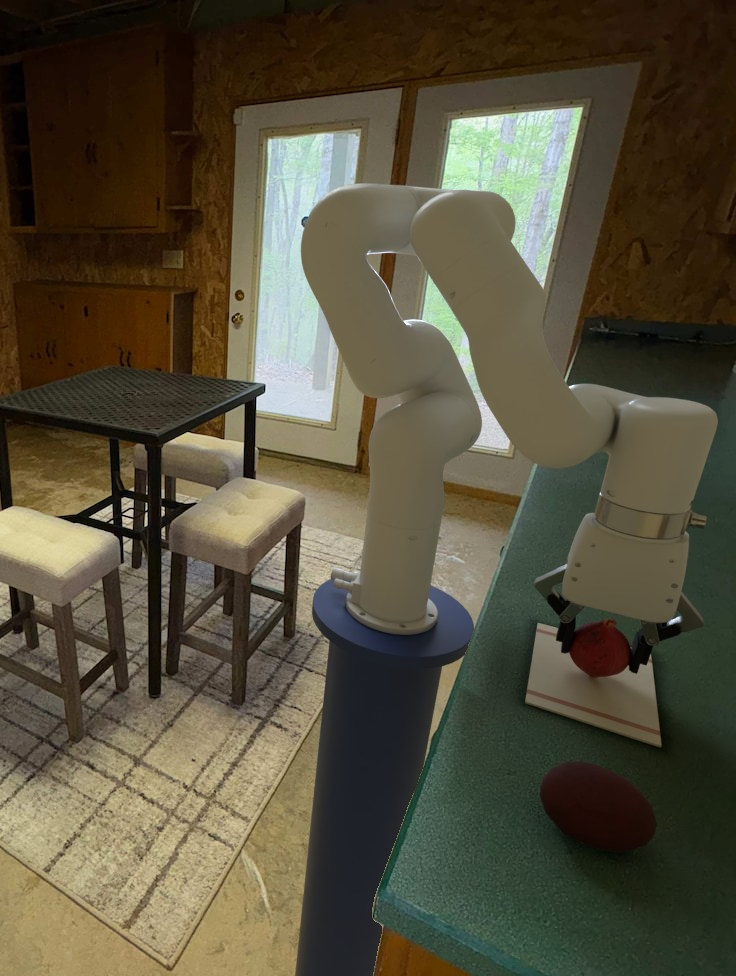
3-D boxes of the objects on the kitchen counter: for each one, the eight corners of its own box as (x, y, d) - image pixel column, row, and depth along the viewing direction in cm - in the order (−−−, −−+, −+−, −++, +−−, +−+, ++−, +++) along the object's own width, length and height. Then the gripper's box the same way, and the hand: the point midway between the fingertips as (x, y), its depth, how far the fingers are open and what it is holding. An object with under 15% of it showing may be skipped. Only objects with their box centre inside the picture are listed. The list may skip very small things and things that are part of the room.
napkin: (524, 703, 70) (525, 701, 70) (537, 624, 84) (537, 622, 84) (660, 748, 64) (661, 745, 63) (650, 654, 77) (651, 652, 77)
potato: (532, 780, 60) (545, 732, 58) (639, 816, 56) (657, 765, 54) (532, 840, 54) (547, 789, 52) (652, 885, 50) (673, 832, 48)
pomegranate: (593, 696, 70) (611, 637, 67) (550, 665, 75) (565, 608, 72) (634, 687, 71) (654, 628, 68) (589, 656, 77) (605, 601, 74)
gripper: (742, 520, 64) (690, 664, 71) (545, 488, 73) (515, 618, 80) (756, 550, 58) (698, 703, 65) (540, 511, 68) (509, 649, 74)
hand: (598, 655), depth 72 cm, fingers closed on pomegranate, 5 cm apart
